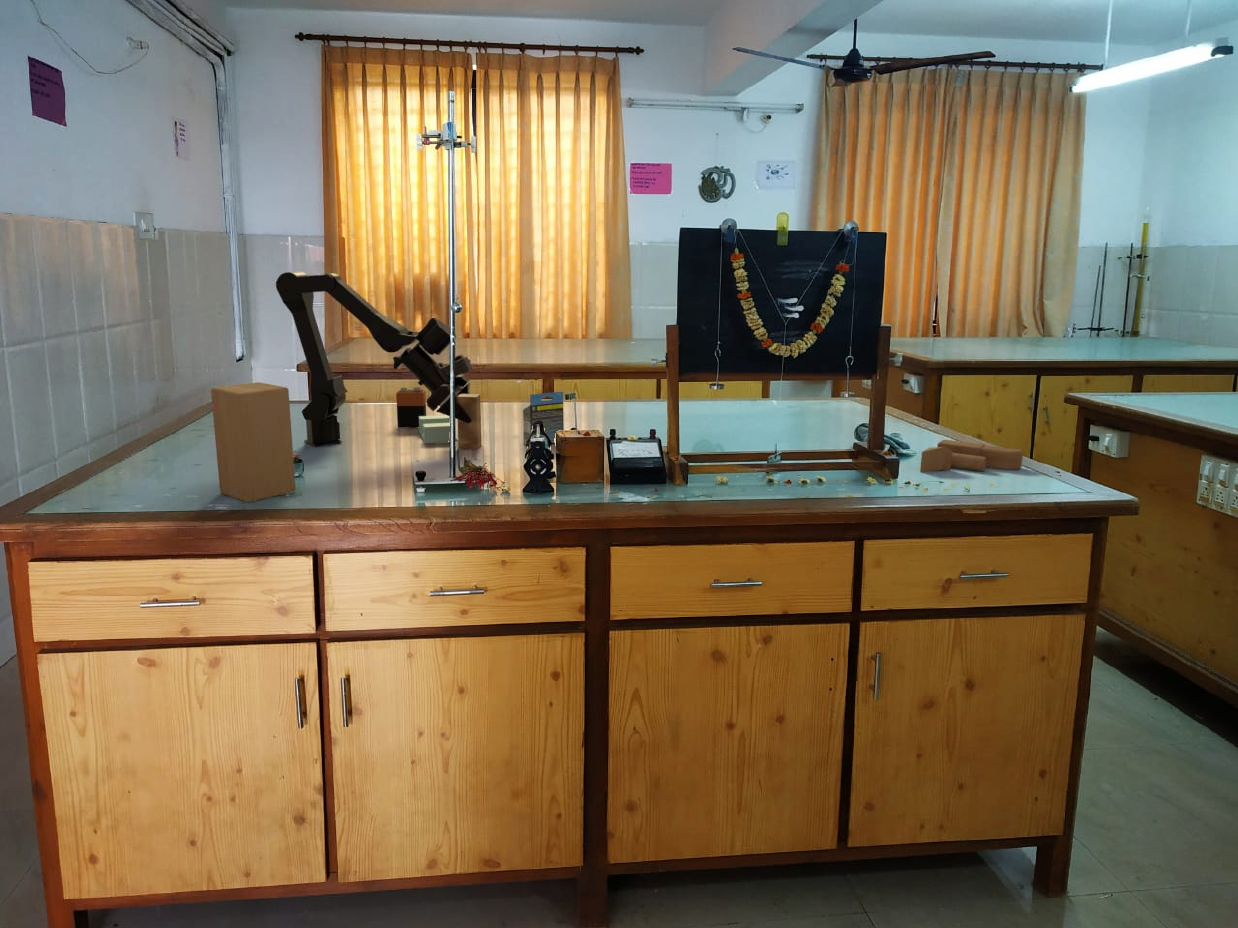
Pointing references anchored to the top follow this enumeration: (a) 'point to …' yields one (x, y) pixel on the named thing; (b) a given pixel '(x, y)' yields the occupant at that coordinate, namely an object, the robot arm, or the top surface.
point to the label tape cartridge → (544, 414)
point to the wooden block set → (969, 457)
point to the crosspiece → (434, 428)
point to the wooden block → (253, 440)
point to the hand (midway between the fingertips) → (475, 418)
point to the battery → (410, 406)
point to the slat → (470, 431)
